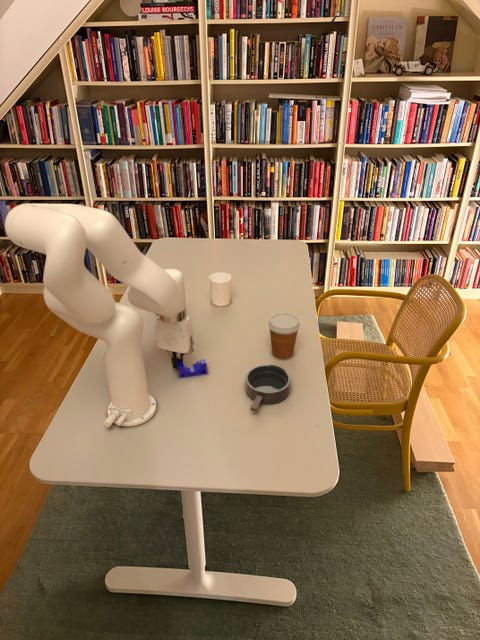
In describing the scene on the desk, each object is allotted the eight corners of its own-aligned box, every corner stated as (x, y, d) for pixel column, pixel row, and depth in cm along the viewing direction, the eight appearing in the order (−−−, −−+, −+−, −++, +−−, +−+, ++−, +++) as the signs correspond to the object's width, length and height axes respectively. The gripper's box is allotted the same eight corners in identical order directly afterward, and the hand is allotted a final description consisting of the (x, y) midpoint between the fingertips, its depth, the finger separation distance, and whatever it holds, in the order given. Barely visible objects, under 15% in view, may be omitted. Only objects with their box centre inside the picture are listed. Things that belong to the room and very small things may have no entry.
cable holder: (205, 366, 142) (204, 355, 140) (207, 374, 140) (206, 363, 137) (178, 370, 141) (177, 359, 139) (179, 377, 138) (178, 366, 136)
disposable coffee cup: (260, 353, 148) (261, 320, 141) (280, 341, 154) (281, 308, 147) (285, 366, 142) (286, 332, 136) (304, 352, 148) (307, 319, 142)
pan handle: (256, 411, 122) (256, 409, 122) (250, 410, 123) (250, 407, 122) (264, 396, 127) (264, 393, 127) (258, 394, 128) (258, 392, 127)
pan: (282, 409, 127) (283, 397, 124) (239, 398, 130) (239, 386, 128) (294, 381, 136) (295, 370, 134) (254, 372, 140) (254, 360, 138)
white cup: (231, 307, 172) (231, 282, 166) (209, 307, 172) (208, 282, 167) (232, 296, 178) (231, 272, 173) (211, 296, 179) (210, 272, 173)
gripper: (141, 315, 131) (149, 368, 141) (191, 324, 126) (195, 379, 136) (155, 302, 137) (161, 354, 147) (203, 311, 132) (206, 364, 142)
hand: (177, 366), depth 141 cm, fingers closed
